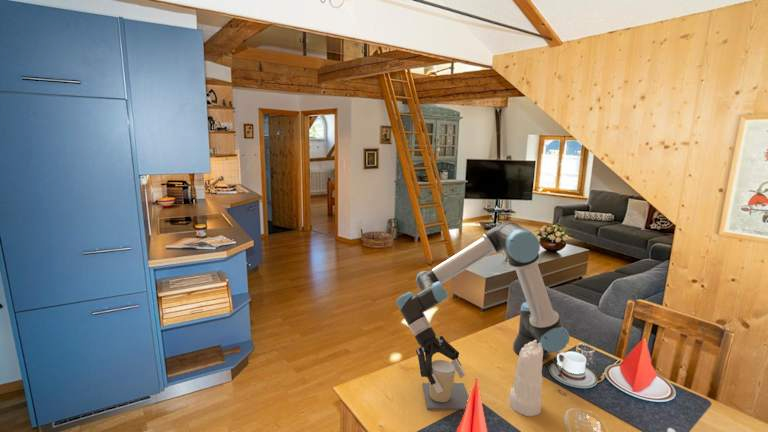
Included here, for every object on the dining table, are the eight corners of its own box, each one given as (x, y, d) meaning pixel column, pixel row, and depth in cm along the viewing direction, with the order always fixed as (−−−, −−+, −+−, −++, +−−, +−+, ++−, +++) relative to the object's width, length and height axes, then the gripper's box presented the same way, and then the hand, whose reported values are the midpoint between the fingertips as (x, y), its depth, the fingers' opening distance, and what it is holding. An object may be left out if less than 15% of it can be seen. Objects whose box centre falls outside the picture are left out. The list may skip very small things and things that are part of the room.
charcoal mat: (463, 384, 155) (463, 382, 154) (471, 409, 141) (472, 407, 141) (422, 384, 154) (422, 382, 154) (427, 409, 140) (427, 407, 140)
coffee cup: (451, 390, 150) (454, 360, 148) (453, 405, 141) (457, 374, 139) (427, 387, 151) (429, 357, 149) (427, 402, 142) (430, 371, 140)
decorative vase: (525, 420, 136) (532, 354, 131) (503, 401, 146) (509, 339, 140) (547, 410, 141) (555, 347, 136) (524, 392, 151) (531, 333, 145)
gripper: (437, 324, 163) (465, 373, 155) (394, 346, 146) (423, 402, 139) (448, 317, 158) (478, 367, 150) (405, 338, 141) (436, 396, 134)
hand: (452, 384), depth 144 cm, fingers open, 13 cm apart
